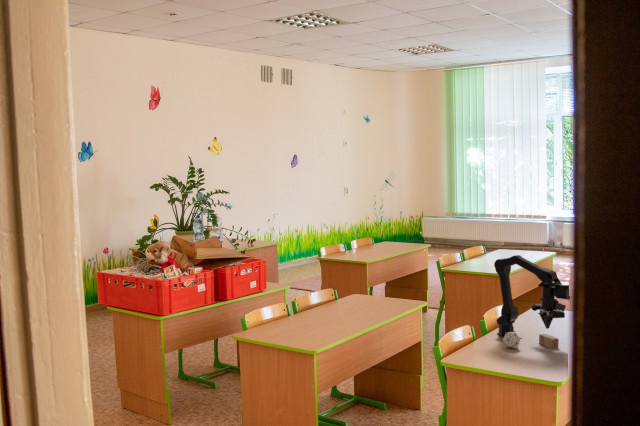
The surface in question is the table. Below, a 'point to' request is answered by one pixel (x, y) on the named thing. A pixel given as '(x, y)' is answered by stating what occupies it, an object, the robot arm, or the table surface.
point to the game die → (511, 339)
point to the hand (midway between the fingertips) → (547, 328)
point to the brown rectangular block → (548, 340)
